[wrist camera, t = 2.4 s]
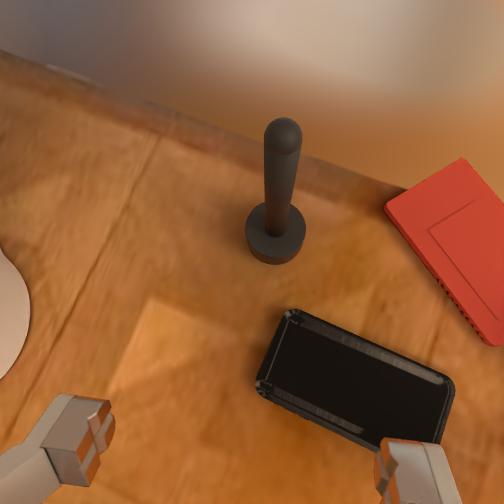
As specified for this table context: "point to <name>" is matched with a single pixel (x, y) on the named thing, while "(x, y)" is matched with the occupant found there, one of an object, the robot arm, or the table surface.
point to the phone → (352, 384)
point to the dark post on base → (278, 197)
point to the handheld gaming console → (459, 241)
